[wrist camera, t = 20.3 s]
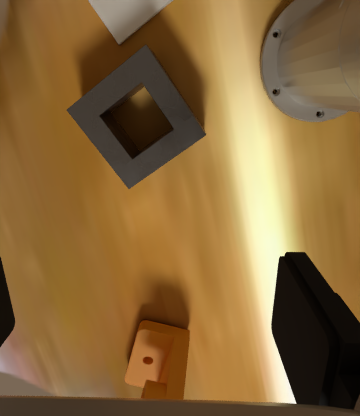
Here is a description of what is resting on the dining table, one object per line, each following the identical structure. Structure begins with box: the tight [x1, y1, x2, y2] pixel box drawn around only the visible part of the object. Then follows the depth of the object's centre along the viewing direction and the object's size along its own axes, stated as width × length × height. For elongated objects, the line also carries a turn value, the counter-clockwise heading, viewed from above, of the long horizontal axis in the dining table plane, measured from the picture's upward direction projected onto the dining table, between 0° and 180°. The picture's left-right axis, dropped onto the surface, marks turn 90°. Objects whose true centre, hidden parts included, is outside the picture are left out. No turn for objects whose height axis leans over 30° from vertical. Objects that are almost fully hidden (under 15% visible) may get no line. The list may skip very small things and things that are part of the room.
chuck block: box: [67, 45, 206, 189], centre depth 34 cm, size 10×10×5 cm
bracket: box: [125, 320, 190, 400], centre depth 42 cm, size 11×7×12 cm, turn 165°
